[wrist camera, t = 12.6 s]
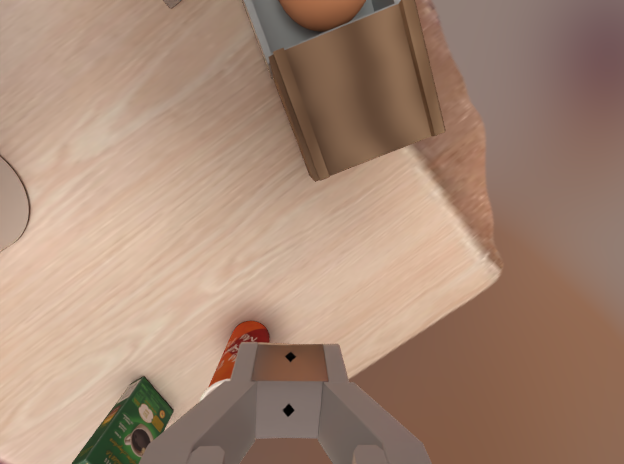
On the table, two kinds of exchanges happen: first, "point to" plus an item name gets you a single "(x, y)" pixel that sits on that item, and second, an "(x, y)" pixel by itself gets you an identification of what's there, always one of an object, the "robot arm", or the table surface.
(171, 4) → the coffee box
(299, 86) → the brown wooden grooved block
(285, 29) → the pale blue storage tray
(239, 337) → the paper cup
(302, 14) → the ball
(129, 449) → the coffee box
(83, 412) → the table surface
